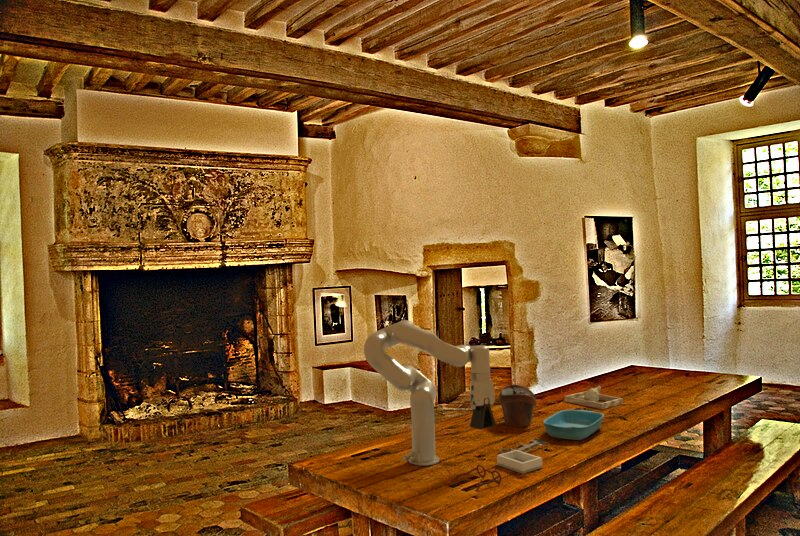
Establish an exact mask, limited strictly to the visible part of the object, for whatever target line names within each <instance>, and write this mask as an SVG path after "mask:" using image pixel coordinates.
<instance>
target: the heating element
mask: <svg viewBox="0 0 800 536" xmlns="http://www.w3.org/2000/svg"><path fill="white" fill-rule="evenodd" d="M546 444H548V441H544V440H542V439H540V438H536V437H534V438H533V439H531V440H530V441H529V442H528V444H526V443H524V444H523V443H520V444H519V445H518V446H517V447H516V448H514V449H513V448H512V447H509V449H508V450H507V449H506V448H503V447H500V450H501V453H500V454H503V453H507V452H511V451H514V450H518V451H522V452H525V453H528V454H529V452H530V453H531V451H532V449H534V448H536V447H539V446H540V447H541V446H545V445H546Z"/></svg>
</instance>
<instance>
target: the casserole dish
mask: <svg viewBox="0 0 800 536" xmlns="http://www.w3.org/2000/svg"><path fill="white" fill-rule="evenodd" d="M604 416H605V414H604V413H601V412H597V411H593V410H585V409H563V410H559V411H557V412H555V413H554V414H552V415H550V416H549V417H546V418H545V419H544V420H543V421H542V422H543V425H544V428H545V431H546V433H547V435H549V436H550V437H552V438H556V439H563V440H564V439H565V440H573V441H581V440H584V439H587V438H588V437H590V435H592V434H594V433H595V432H597V431H598V430H599V429H600V427H601V426H602V423H603V420H604Z"/></svg>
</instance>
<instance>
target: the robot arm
mask: <svg viewBox="0 0 800 536" xmlns="http://www.w3.org/2000/svg"><path fill="white" fill-rule="evenodd" d="M399 344H403V345H406V346H408V347H411V348H414V349H416V350H418V351H422V352H424V353H426V354H428V355H430V357H431V356H432V357H433V358H435V359H437V360H439V361H441V362H444V363H447V364H448V365H451V366H454V367H459V368H460V367H465V366H466V365H467V364H468V363H470V366H471V367H470V369H471V370H470V371H471V375H470V376H469V377H470V379H471V380H470V385H469V403H470V406H469V407H470V409H472V410H473V409H475V410H476V411H477V412H480V411H481V406H483V405H484V399H485V398H486V399H485V404H486V405H487V404H488V403H489V400H490V407H491V406H493V405H494V404H495V402H496V401H495V400H496V395H495V394H496V393H495V387H494V383H493V379H492V378H491V366H490V365H491V362H490V361H491V360H490V359H491V358H490V349H489V346H487V345H483V344H482V345H467V344H459V345H457V346H456V345H452V344H450V343H447V342H446V341H443V339H440V338H439V336H437V334H435V333H433V332H431V331H429V330H426V329H423V328H421V327H420V326H419V327H418V326H416V325H415V324H414V323H413V322H412V321H410V320H407V319H403V320H401V321H398V322H396V323H393V324H391V325H388V326H387V327H384V328H382V329H378V330H376V331H374V332H373V333H371V334H369V336H367V338H366V340H365V343H364V346H363V354H364V357H365V359H366V362H367V363H368V364H369V365H370V366H371V368H373V370H375V371H376V372H377V373H378V374H380V376H381V377H382V378H383V379H385V380H386V381H387V382H389V384H390V385H392V386H393V387H394V388H395V389H397V390H399V391H401V392H405V391H408V392H409V393H410V398H409V404H410V413H411V414H410V416H411V417H410V419H411V450H410V451H409V454H405V455H403V456H402V460H403V461H407V460H408V463H410V464H411V465H415V466H419V467H421V466H424V467H425V466H432V465H435V464H438V463H439V462H440V457H439V456H437V455H436V430H435V429H436V426H435V424H436V422H435V409H434V408H435V406H434V402H435V399H436V397H437V395H438V392H437V388H436V386H435V384H434V382H432V381H431V380H430V379H428V378H427V377H426V375H424V374H423V373H421V372H420V371H419V370H418V369H417V368H415V367H414V366H413V365H410V364H401V363H399V362H398V361H397V360H396V359H395V358H393V356H390V355H389V354H388V353H387V352H386V350H387V349H388V348H390V347H394V346H395V345H399ZM487 398H489V400H488V399H487ZM484 421H486V422H487V421H488V412H486V411H485V418H484Z"/></svg>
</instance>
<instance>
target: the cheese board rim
mask: <svg viewBox="0 0 800 536" xmlns="http://www.w3.org/2000/svg"><path fill="white" fill-rule="evenodd" d="M587 391H588V390H587ZM587 391H582V392H577V393H573V394H572V393H571V394H569V395H564V402H565V403H570V404H575V405H578V406H579V405H580V406H584V407H589V408H593V409H598V410H605V409H608V408H613V407H616V406H621V405H624V398H621V397H617V396H611V395H606V394H601V393H599V396H598V397H599V400H598V401H597V402H594V401H589V400H584V399H579V398H580V397H582V396H583V395H585V393H586V392H587ZM599 401H603V402H599Z"/></svg>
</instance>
